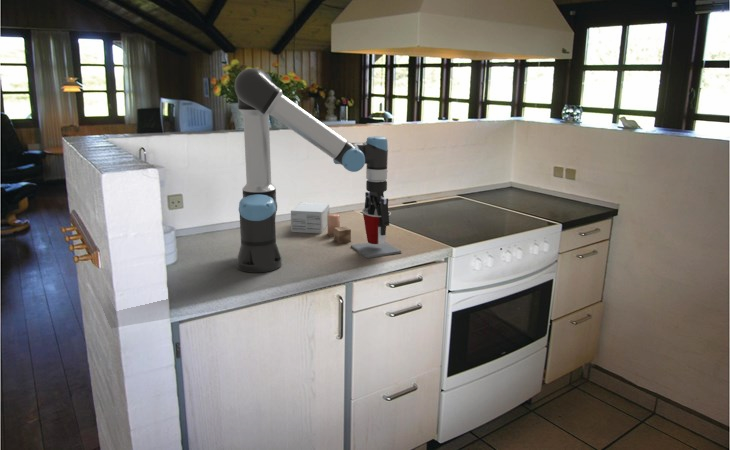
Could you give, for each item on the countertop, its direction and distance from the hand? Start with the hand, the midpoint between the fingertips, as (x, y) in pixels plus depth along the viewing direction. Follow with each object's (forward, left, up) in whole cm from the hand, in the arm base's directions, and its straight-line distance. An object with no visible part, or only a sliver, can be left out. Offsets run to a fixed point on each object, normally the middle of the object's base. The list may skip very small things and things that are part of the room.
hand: (375, 239), depth 204 cm
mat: (0, 0, -4) cm, 4 cm away
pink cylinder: (-6, +26, -4) cm, 27 cm away
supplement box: (-11, +39, -4) cm, 41 cm away
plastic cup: (0, 0, -1) cm, 1 cm away
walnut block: (-7, +16, -4) cm, 18 cm away
